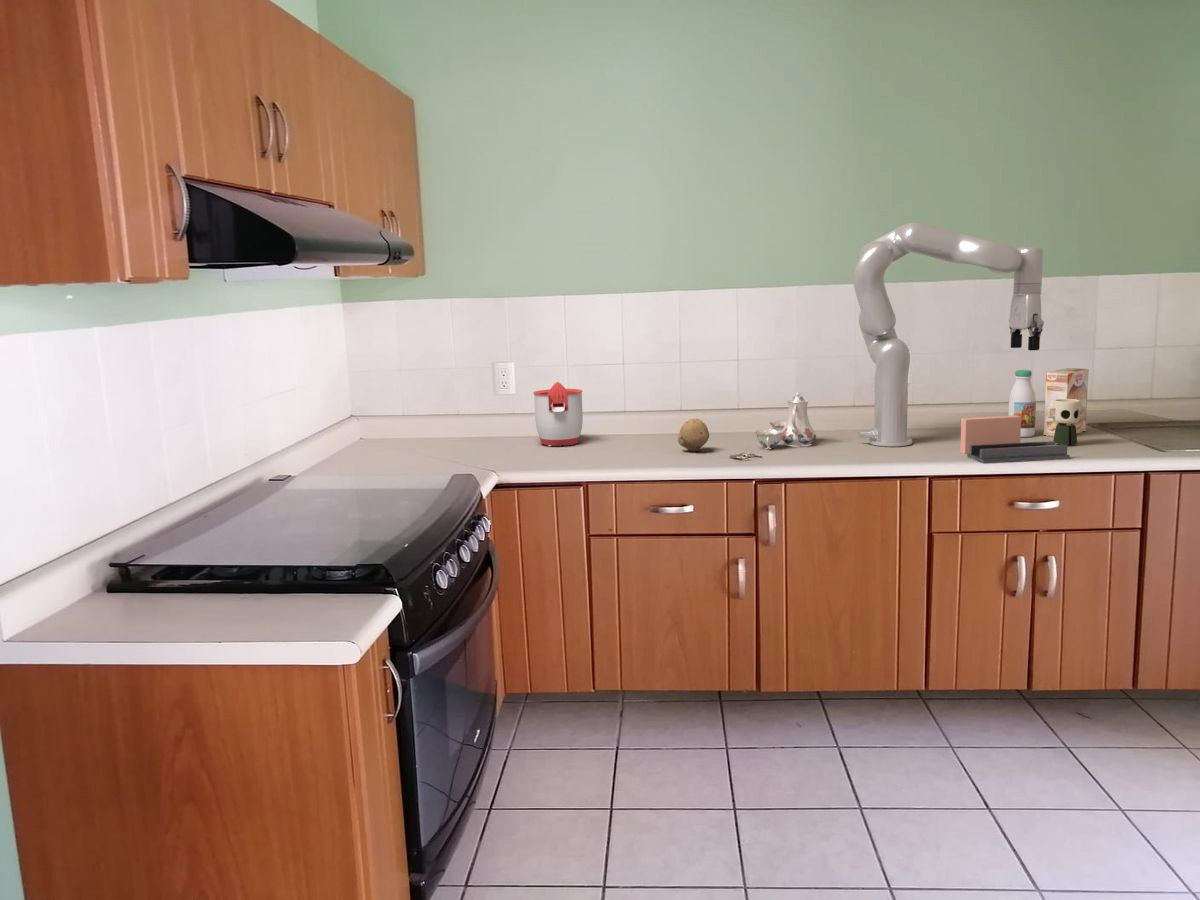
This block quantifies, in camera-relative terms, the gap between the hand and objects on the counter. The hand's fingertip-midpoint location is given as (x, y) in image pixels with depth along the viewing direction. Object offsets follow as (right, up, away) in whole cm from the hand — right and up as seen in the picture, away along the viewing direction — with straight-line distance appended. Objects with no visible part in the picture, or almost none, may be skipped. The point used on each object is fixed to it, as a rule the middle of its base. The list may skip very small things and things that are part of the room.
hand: (1024, 348), depth 301 cm
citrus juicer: (-137, -28, +27) cm, 143 cm away
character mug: (+10, -28, -4) cm, 30 cm away
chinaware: (-67, -28, +13) cm, 74 cm away
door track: (-10, -32, -20) cm, 39 cm away
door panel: (-14, -30, -11) cm, 35 cm away
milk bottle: (+4, -25, +14) cm, 29 cm away
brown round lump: (-96, -30, +6) cm, 101 cm away
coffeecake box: (+18, -25, +15) cm, 34 cm away
